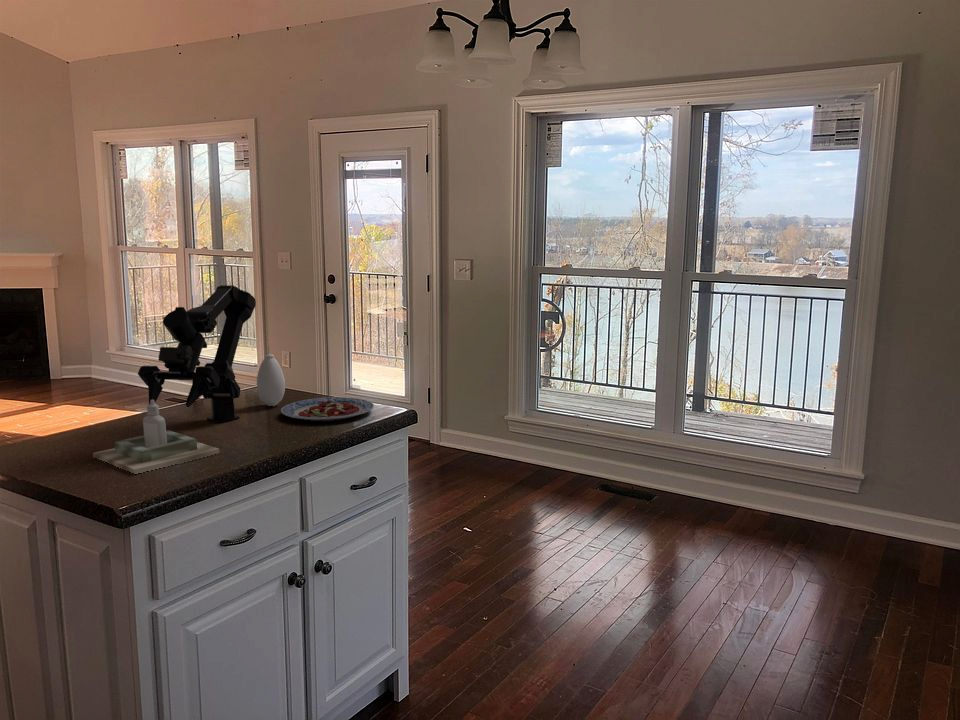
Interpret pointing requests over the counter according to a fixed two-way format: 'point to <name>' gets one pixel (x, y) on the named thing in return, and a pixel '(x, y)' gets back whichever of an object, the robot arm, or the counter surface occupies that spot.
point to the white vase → (270, 381)
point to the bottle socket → (154, 453)
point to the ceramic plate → (327, 408)
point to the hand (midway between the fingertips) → (168, 406)
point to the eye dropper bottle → (154, 427)
